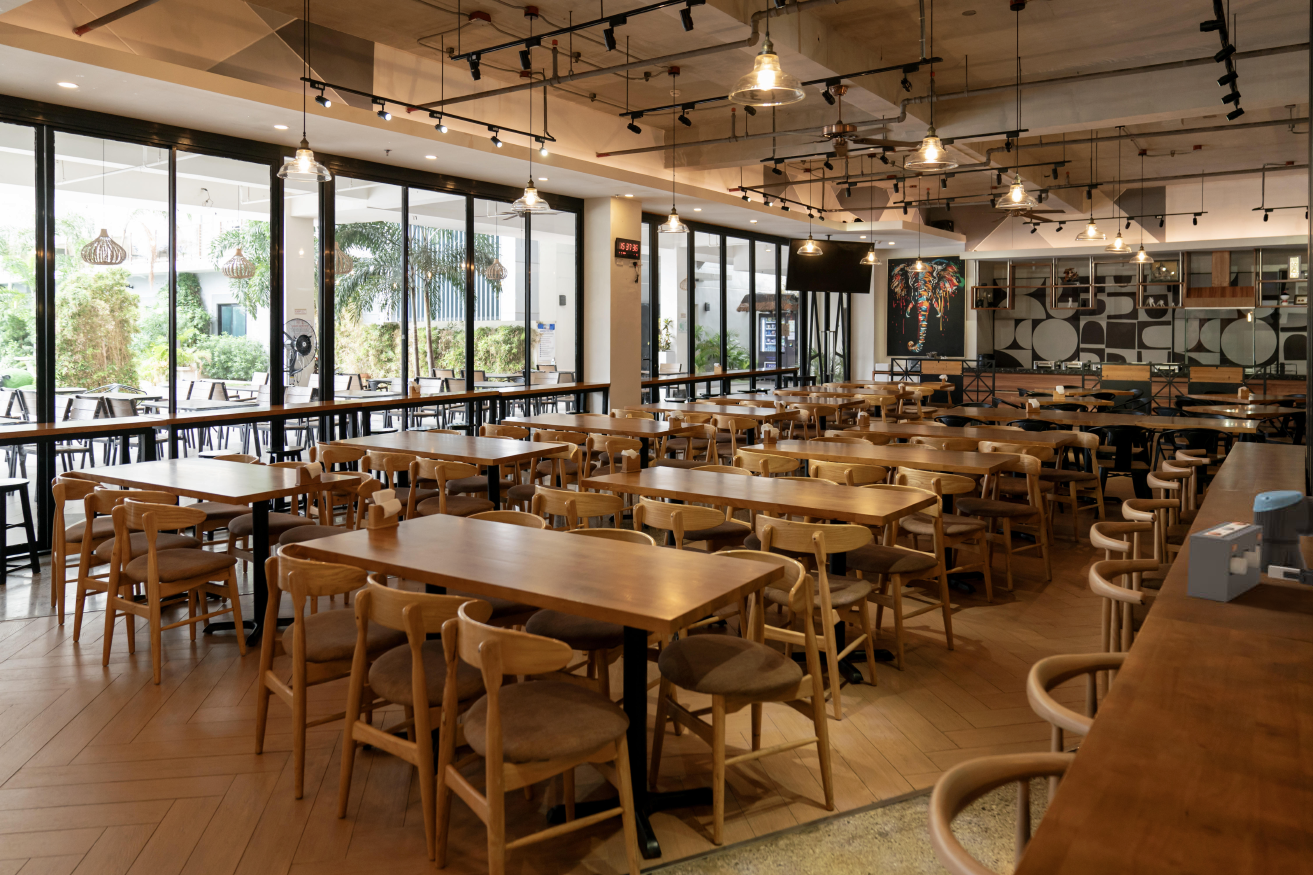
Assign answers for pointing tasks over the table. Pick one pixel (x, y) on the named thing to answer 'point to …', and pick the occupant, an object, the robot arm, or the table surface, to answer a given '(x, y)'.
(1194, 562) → the button panel
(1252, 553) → the button middle
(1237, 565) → the button
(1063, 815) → the table surface
